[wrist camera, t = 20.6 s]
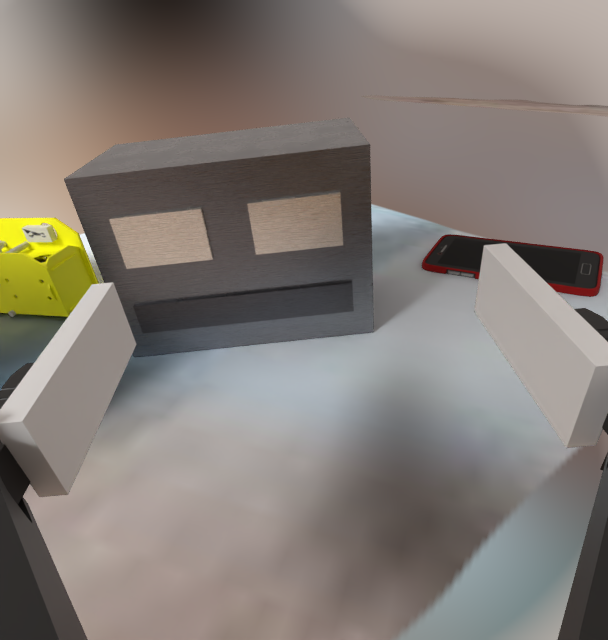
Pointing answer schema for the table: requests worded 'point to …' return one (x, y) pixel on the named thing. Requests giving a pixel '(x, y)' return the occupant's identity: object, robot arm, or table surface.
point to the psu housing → (234, 235)
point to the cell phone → (547, 261)
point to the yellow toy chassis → (42, 267)
